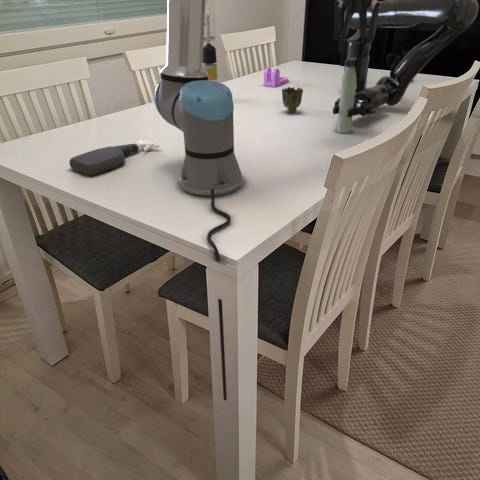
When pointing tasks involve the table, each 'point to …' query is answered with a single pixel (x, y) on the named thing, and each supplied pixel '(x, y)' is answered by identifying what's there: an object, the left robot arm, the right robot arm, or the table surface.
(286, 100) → the cup
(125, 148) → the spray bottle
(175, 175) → the table surface
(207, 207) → the table surface
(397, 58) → the squiggle
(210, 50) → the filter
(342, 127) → the bottle
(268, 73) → the bracket
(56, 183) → the table surface
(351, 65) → the cap
